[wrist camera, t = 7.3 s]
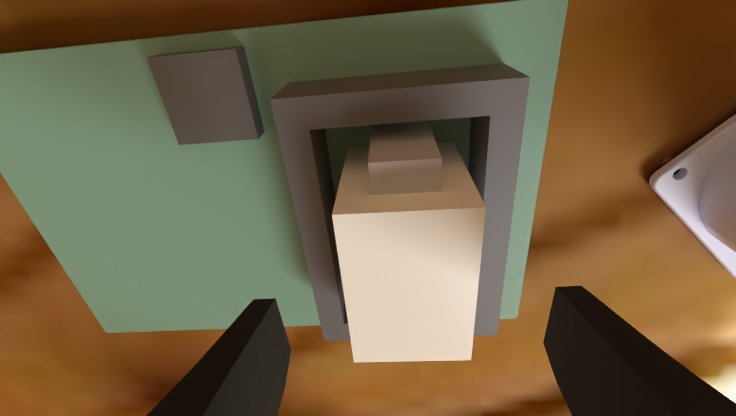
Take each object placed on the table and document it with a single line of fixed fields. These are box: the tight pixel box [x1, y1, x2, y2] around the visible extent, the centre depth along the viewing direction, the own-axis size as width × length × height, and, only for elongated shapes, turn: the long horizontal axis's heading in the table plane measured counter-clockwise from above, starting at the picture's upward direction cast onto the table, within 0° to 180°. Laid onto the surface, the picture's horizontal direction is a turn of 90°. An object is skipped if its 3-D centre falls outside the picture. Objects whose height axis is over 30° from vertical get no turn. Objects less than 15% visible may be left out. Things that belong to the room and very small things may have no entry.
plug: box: [332, 121, 486, 362], centre depth 13 cm, size 7×4×5 cm, turn 4°
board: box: [0, 0, 569, 341], centre depth 15 cm, size 22×14×4 cm, turn 95°
